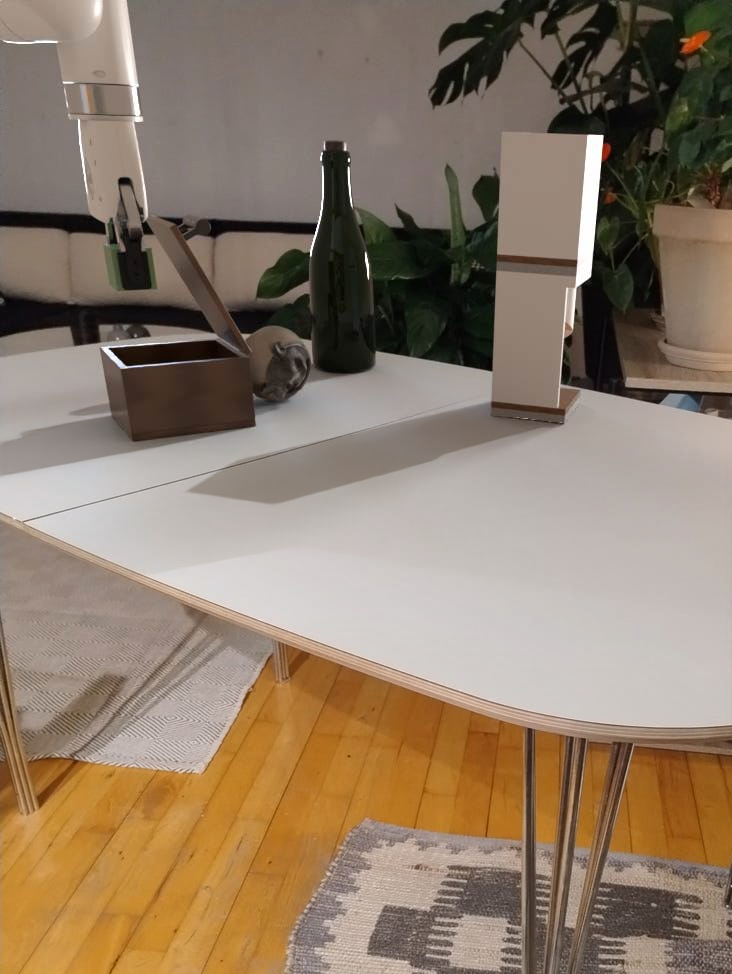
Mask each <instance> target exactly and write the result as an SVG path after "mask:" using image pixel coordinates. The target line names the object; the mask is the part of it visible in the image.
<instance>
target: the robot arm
mask: <svg viewBox="0 0 732 974" xmlns="http://www.w3.org/2000/svg"><path fill="white" fill-rule="evenodd" d="M129 14H130V13H129V7H128V1H127V0H0V41H3V42H6V43H12V44H40V43H54V44H55V45H56V51H57V56H58V62H59V63H58V64H59V68H60V74H61V80H62V83H63V85H62V86H63V90H64V96H65V102H66V107H67V112H68V120H70V121H71V120H72V121H73V120H74V121H75V120H76V121H78V136H79V137H78V138H79V146H80V156H81V163H82V169H83V175H84V183H85V190H86V198H87V207H88V211H89V213H90V215H91V216H92V217H93V218H95V219H96V220H98V221H100V222H102V223H103V224H104V226H105V233H106V240H107V244H118V247H119V251H120V252H117V258H118V264H119V270H120V276H121V282H122V287H123V289H125V290H134V291H146V290H145V289H151V288H152V283H151V276H150V270H149V263H148V256H147V252H146V246H145V245H146V241H145V236H144V231H143V226H142V223H145V222H146V219H147V218H148V214H149V209H148V201H147V191H146V185H145V177H144V172H143V165H142V159H141V154H140V148H139V141H138V137H137V131H136V126H135V123H144V116H143V111H142V103H141V94H140V87H139V80H138V79H139V78H138V72H137V65H136V58H135V51H134V43H133V37H132V36H133V35H132V30H131V23H130V21H131V20H130V15H129Z"/></svg>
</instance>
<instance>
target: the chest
mask: <svg viewBox="0 0 732 974" xmlns="http://www.w3.org/2000/svg"><path fill="white" fill-rule="evenodd" d="M99 352H100V359H101V364H102V369H103V375H104V381H105V387H106V392H107V397H108V398H107V399H108V404H109V410H110V414H111V416H112V418H113V419H114V420H115V421H116V422H117V424H118V425H119V427H121V429H122V430H123V431H124V432H125V434H126V435H127V437H129V439H130V440H131V441H132V442H137V441H138V440H139V441H146V440H154V439H163V438H172V437H177V436H187V435H196V434H203V433H210V432H212V433H213V432H219V431H227V430H235V429H236V430H237V429H242V428H243V429H244V428H251V427H256V426H257V422H256V412H255V411H256V409H255V400H254V394H253V388H252V377H251V367H250V358H249V357H248V356H246V355H245V354H243V353H242V352H240V351H239V350H238V349H237V348H235V347H233V346H232V345H230V344H229V343H227V342H226V341H224V340H223V339H221V338H220V337H217V338H204V339H203V338H202V339H190V340H178V341H165V342H152V343H151V342H149V343H141V344H140V343H139V344H137V343H135V344H126V345H125V344H124V345H123V344H122V345H112V346H111V345H110V346H99ZM139 441H138V442H139Z"/></svg>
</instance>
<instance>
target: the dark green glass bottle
mask: <svg viewBox="0 0 732 974" xmlns="http://www.w3.org/2000/svg"><path fill="white" fill-rule="evenodd" d="M347 149H348V144H347V141H344V140H339V139H338V140H337V139H331V140H330V139H329V140H324V141H323V149H322V150H321V154H320V161H321V162H320V163H321V167H322V169H321V170H322V200H321V210H320V216H319V220H318V224H317V227H316V231H315V235H314V238H313V241H312V245H311V248H310V255H309V263H308V274H309V275H308V283H309V284H308V289H309V312H310V315H309V316H310V336H311V338H310V339H311V357H312V363H313V365H314V367H316V368H318V369H319V370H322V371H326V372H333V373H357V372H363V371H367V370H371V369H372V368H373V367H374V366H375V365H376V363H377V347H376V324H375V323H376V321H375V319H376V318H375V300H374V299H375V297H374V296H375V295H374V281H373V280H374V279H373V269H372V261H371V257H370V252H369V249H368V246H367V243H366V241H365V238H364V235H363V233H362V230H361V227H360V224H359V222H358V217H357V215H356V210H355V204H354V199H353V189H352V175H351V164H352V158H351V153H350V151H349V150H347Z"/></svg>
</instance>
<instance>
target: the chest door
mask: <svg viewBox="0 0 732 974" xmlns="http://www.w3.org/2000/svg"><path fill="white" fill-rule="evenodd" d="M145 222H146V223H147V224H148V225H147V226H149V228H150V229H151V231H152V233H153V234H154V236H155V237H156V239H157V241H158V243H159V244H160V246H161V247H162V249H163V250H164V252H165V255H166V256H167V257H168V259H169V260H170V263H172V265H173V267H174V269H175V271H176V272H177V273H178V275H179V276H180V278H181V280H182V281H183V283H184V285H185V286H186V288H187V289H188V291H189V293H190V294H191V296H192V298H193V300H194V301H195V302H196V304H197V306H198V307H199V310H200V311H201V312H202V314H203V316H204V317H205V319H206V320H207V322H208V324H209V325H210V327H211V328H212V330H213V332H214V333H215V335H216V336H217V338H220V339H222V340H223V341H225V342H226V343H228V344H229V345H231V346H232V347H234V348H235V349H237V350H240V351H241V352H243V353H244V354H246V355H248V354H250V353H251V350H250V348H249V346H248V345H247V343H246V341H245V338H244V336H243V335H242V333H241V331H240V330H239V328H238V327H237V325H236V323H235V321H234V320H233V318H232V317H231V314H230V313H229V311H228V310H227V308H226V306H225V304H224V303H223V301H222V300H221V297H220V296H219V294H218V293H217V291H216V289H215V287H214V286H213V284H212V283H211V281H210V279H209V277H208V276H207V274H206V273H205V271H204V269H203V267H202V266H201V264H200V262H199V261H198V259H197V257H196V256H195V254H194V252H193V251H192V249H191V247H190V246H189V244H188V242H187V241H189V240H190V239H192V238H194V237H195V236H197V235H201V236H207V235H209V234H210V232H211V230H212V227H211V223H210V222H209V221H208V220H207V219H206V218H202V217H199V216H195V215H192V214H186V215H185V216H183V218H182V223H181V224H179V225H177V224H176V223H174V222H171V221H169V220H165V219H163V218H161V217H158V216H156V215H153V214H150V213H148V218H147V219H146V220H145ZM182 233H183V234H182Z"/></svg>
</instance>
